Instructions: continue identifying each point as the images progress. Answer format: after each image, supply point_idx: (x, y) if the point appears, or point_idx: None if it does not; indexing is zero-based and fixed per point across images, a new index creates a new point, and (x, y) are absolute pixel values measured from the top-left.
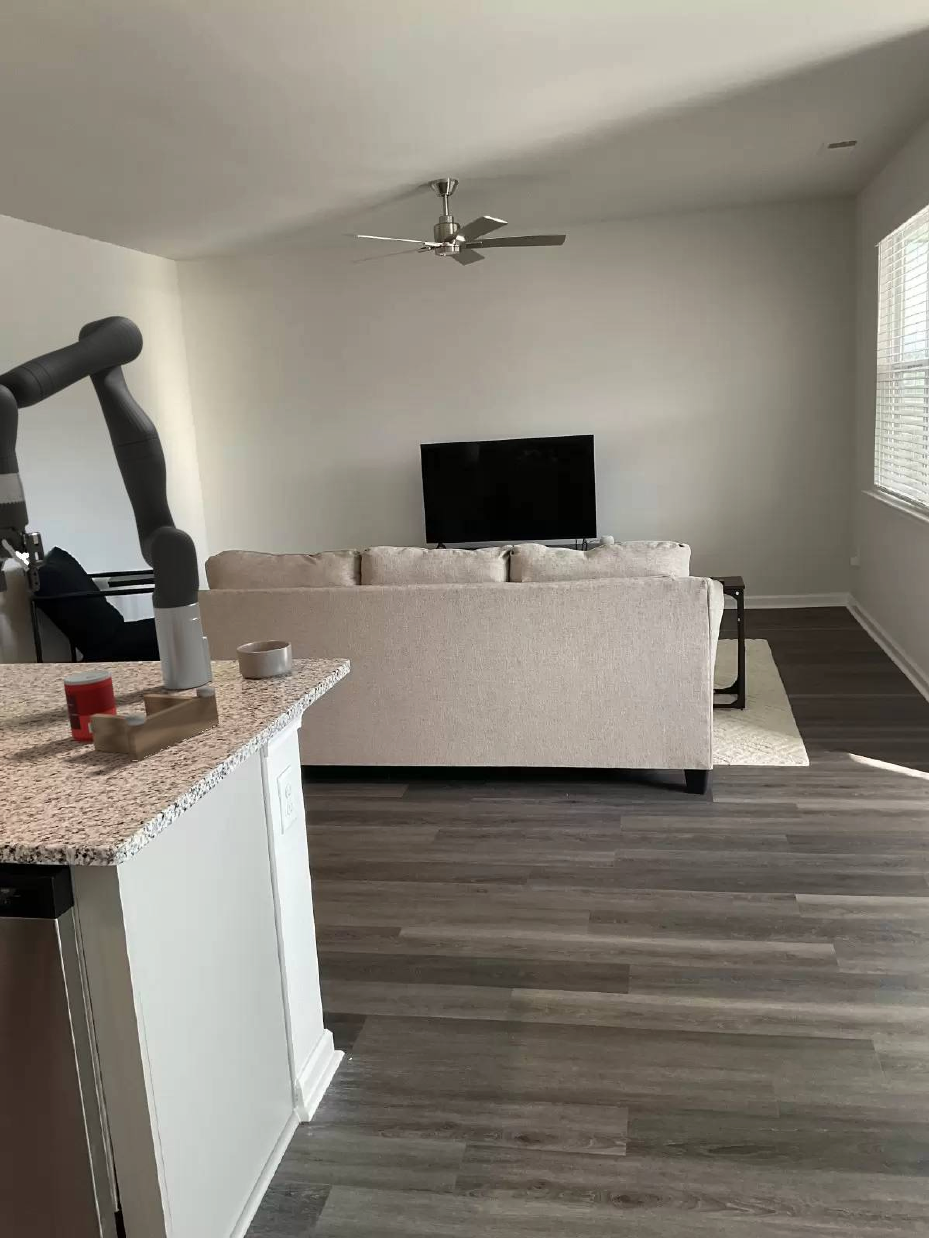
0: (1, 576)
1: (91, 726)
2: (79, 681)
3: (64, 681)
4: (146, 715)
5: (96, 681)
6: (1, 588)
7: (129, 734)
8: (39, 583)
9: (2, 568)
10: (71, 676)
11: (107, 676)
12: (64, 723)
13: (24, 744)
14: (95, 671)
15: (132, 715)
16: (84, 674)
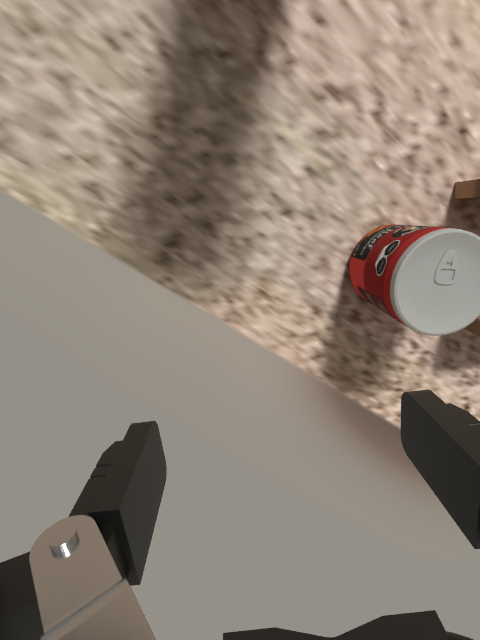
0: (139, 503)
1: (474, 332)
2: (466, 325)
3: (419, 332)
4: (470, 197)
5: None
6: (157, 458)
7: None
8: (471, 417)
9: (97, 527)
10: (400, 297)
11: None
12: (249, 232)
13: (293, 340)
14: (428, 243)
15: None
16: (412, 267)
